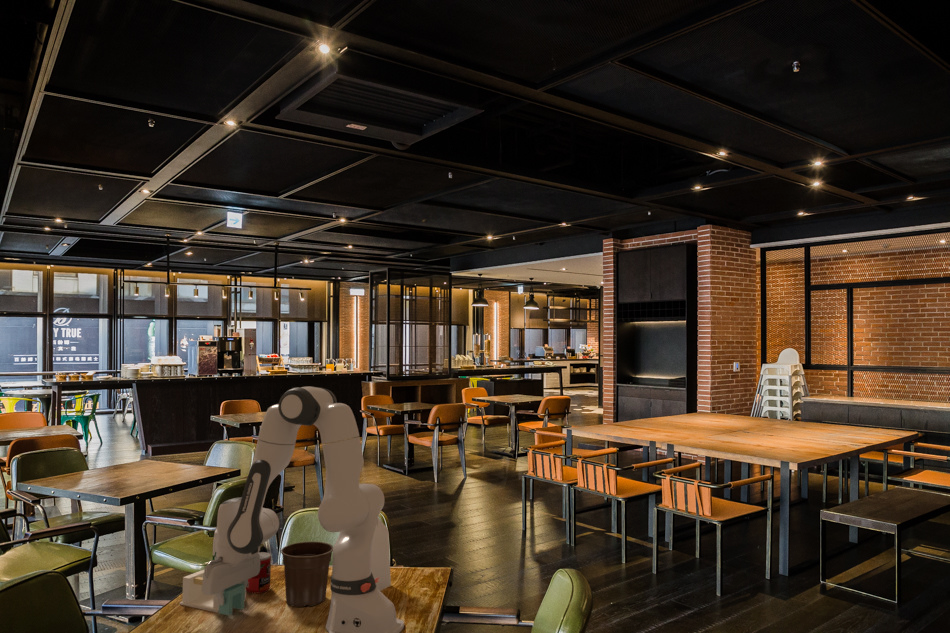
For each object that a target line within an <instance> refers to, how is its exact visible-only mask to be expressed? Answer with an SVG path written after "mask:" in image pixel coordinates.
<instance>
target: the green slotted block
mask: <svg viewBox="0 0 950 633" xmlns="http://www.w3.org/2000/svg"><path fill="white" fill-rule="evenodd" d="M223 596H224V597H225V598H226V604H224V605H219V612H218V613H219V615H225V616H231V615H233V609H236V610H244V609H245V600H244V584H239V583H238V584H236V585H234V586H231V587H229V588H227V589H225V590H224V593H223Z"/></svg>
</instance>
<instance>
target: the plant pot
mask: <svg viewBox="0 0 950 633" xmlns="http://www.w3.org/2000/svg"><path fill="white" fill-rule="evenodd" d="M333 547H334V545H332V544H330V543H328V542H324V541H303V542H302V541H300V542H294V543H291V544H288V545H285V546H284V547H282V548H281V550H280V554H281V555H282V564H283V567H284V568H283V569H284V584H285V602H286V603H287V605H289V606H292V607H295V608H304V607H305V606H309V607H313V606H317V605H320V604H321V603H323V602H324V601H325V600H326V598H327V588H328V579H329V570H330V563H331V561H332V556H333Z"/></svg>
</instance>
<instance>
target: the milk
mask: <svg viewBox="0 0 950 633" xmlns="http://www.w3.org/2000/svg"><path fill="white" fill-rule="evenodd" d="M389 536H390V534H389V530H388V527H387V526H386V525H385V524H384V523H383V522H382V520H381V519H379V518H378V520H377V524H376V528H375V533H374V537H373V542H372V553H371V572H372V574H373V577H374V580H375V579H376V578H378V577H379V579H378V580H379V581H378V580H377V581H378V582H377V583H376V588H377V589H378V590H379V591H380V592H382V591H383V590H385V589H387V588H388V587H391V585H392V581H391V579H392V578H391V577H392V576H391V559H390V558H391V556H390V537H389Z"/></svg>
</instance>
